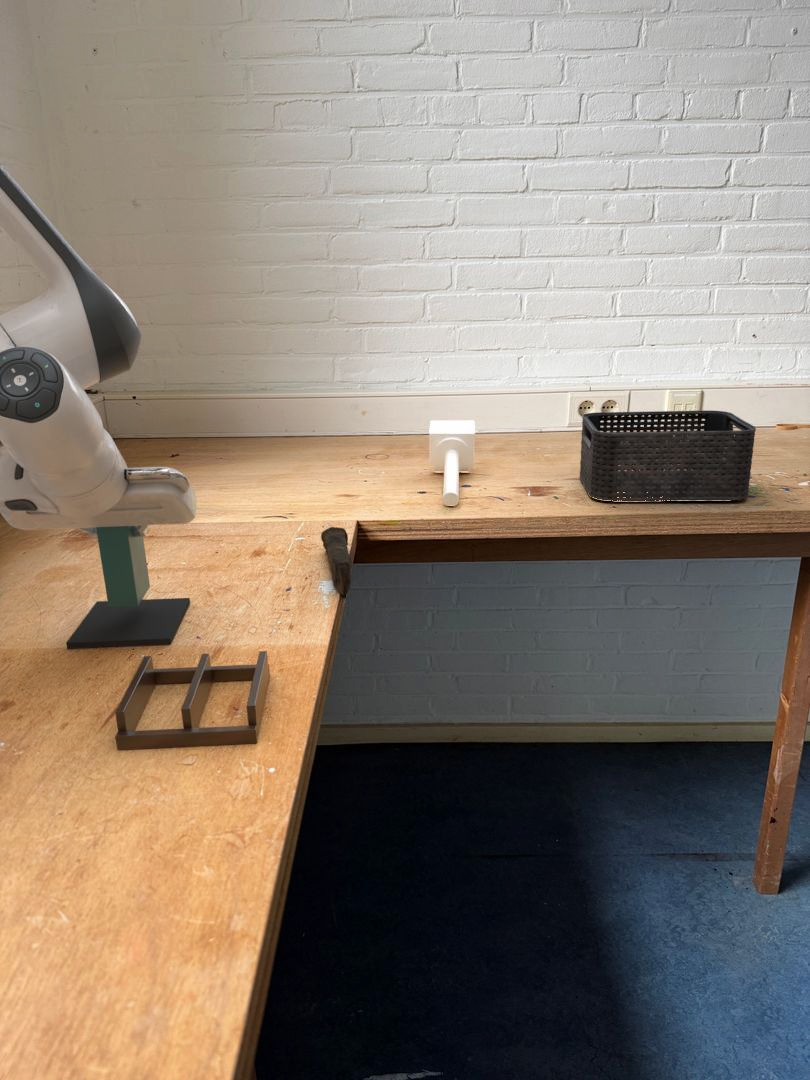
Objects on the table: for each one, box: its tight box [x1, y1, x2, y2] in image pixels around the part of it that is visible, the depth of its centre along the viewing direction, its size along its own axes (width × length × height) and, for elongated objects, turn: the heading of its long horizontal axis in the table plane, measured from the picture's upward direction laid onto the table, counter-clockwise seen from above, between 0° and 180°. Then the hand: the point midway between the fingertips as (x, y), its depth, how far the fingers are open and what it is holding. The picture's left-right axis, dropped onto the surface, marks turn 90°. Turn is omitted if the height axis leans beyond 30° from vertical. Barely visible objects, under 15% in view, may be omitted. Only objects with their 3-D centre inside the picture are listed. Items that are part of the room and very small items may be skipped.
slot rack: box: [114, 650, 271, 751], centre depth 79 cm, size 13×13×4 cm
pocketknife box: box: [96, 526, 151, 608], centre depth 96 cm, size 4×6×11 cm, turn 4°
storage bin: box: [579, 410, 757, 501], centre depth 150 cm, size 29×19×13 cm
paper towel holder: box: [428, 420, 476, 506], centre depth 157 cm, size 9×9×32 cm
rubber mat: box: [65, 597, 191, 650], centre depth 99 cm, size 12×12×1 cm
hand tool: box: [320, 526, 352, 596], centre depth 114 cm, size 19×4×5 cm, turn 6°
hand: (120, 532), depth 95 cm, fingers closed on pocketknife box, 3 cm apart
